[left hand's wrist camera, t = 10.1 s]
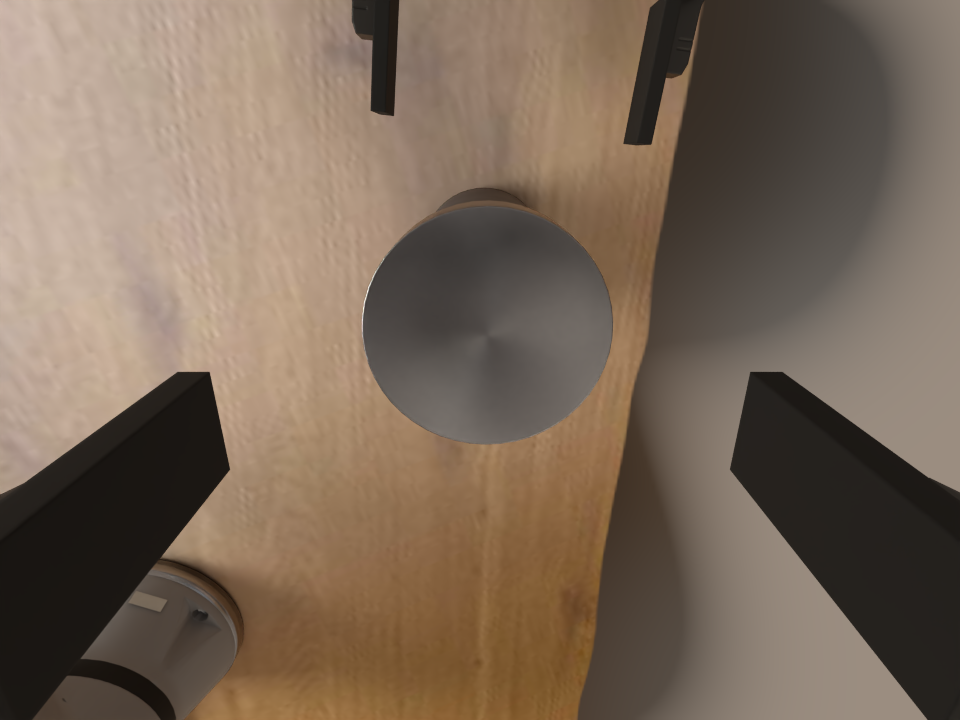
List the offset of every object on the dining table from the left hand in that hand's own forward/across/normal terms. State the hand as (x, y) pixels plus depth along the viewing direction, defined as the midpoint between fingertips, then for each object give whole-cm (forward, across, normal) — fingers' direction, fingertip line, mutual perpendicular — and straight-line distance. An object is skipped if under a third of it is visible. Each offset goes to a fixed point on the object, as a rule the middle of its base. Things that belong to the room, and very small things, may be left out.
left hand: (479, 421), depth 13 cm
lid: (+7, 0, 0) cm, 7 cm away
